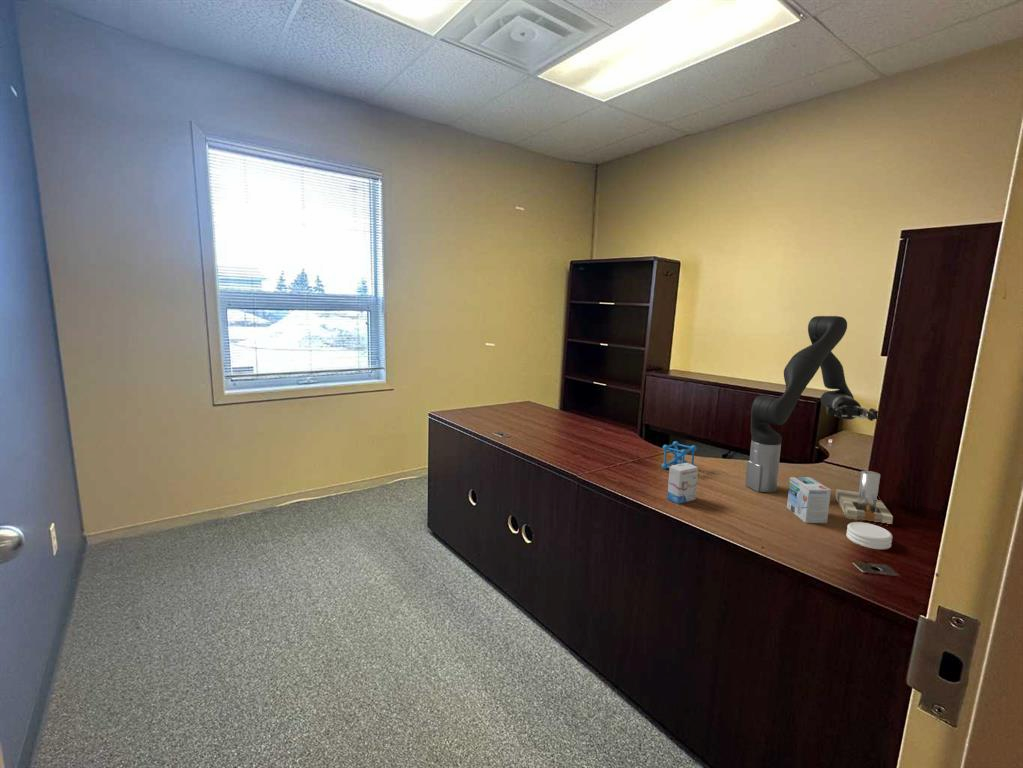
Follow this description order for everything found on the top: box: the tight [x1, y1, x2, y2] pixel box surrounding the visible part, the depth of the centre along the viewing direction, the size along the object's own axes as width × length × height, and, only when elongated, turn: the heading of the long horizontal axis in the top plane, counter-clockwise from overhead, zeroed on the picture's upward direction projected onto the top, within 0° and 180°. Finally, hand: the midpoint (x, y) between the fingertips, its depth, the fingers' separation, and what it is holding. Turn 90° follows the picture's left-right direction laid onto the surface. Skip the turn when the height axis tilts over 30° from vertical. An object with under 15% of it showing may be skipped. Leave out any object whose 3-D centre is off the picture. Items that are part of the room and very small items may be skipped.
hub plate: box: [835, 488, 894, 525], centre depth 147 cm, size 18×11×3 cm, turn 154°
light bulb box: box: [786, 476, 832, 524], centre depth 143 cm, size 11×7×11 cm, turn 178°
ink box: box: [666, 462, 699, 505], centre depth 155 cm, size 9×5×12 cm, turn 117°
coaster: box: [845, 521, 893, 550], centre depth 129 cm, size 10×10×4 cm
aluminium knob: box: [857, 470, 881, 513], centre depth 142 cm, size 6×5×14 cm
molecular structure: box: [661, 440, 697, 470], centre depth 185 cm, size 10×10×10 cm
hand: (856, 416), depth 155 cm, fingers open, 8 cm apart
